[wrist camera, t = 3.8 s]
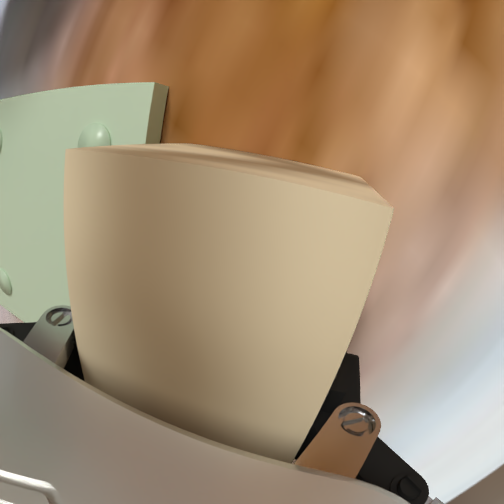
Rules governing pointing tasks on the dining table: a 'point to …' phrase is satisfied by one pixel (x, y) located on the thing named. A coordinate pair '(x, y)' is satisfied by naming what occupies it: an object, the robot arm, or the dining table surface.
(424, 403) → the dining table surface
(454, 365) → the dining table surface
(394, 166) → the dining table surface
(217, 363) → the beech block
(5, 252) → the baseplate
